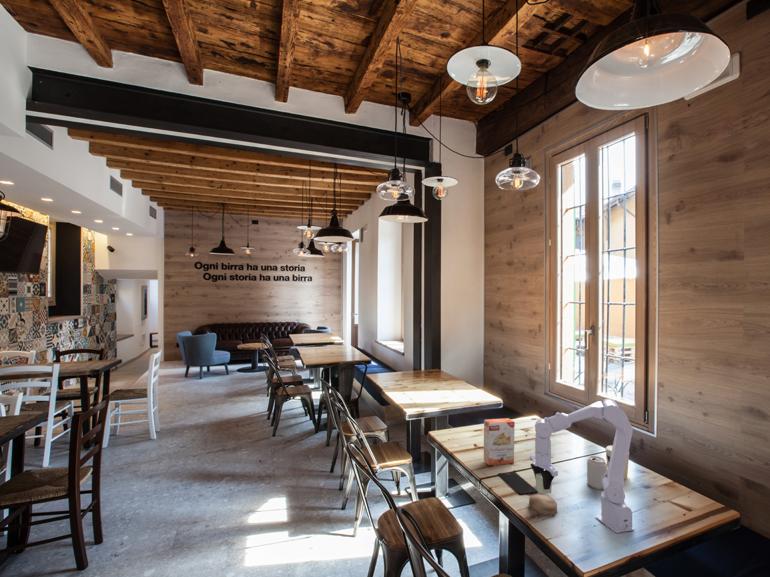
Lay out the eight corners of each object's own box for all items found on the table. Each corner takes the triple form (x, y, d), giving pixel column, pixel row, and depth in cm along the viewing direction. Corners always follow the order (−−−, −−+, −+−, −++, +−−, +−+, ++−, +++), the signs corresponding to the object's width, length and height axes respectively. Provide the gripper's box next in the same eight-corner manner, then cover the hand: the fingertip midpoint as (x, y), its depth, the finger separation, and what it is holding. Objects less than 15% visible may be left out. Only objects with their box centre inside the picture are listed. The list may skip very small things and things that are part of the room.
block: (551, 493, 143) (551, 477, 143) (542, 494, 142) (542, 478, 142) (544, 487, 147) (544, 472, 147) (535, 488, 146) (535, 473, 146)
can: (590, 479, 166) (590, 453, 166) (609, 486, 161) (609, 458, 161) (584, 485, 161) (584, 458, 161) (604, 492, 155) (604, 464, 156)
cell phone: (514, 473, 172) (514, 471, 172) (538, 493, 155) (538, 491, 155) (497, 475, 170) (497, 473, 170) (519, 496, 153) (519, 493, 153)
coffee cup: (603, 475, 170) (603, 449, 170) (608, 468, 177) (608, 443, 177) (627, 482, 164) (627, 455, 164) (631, 475, 171) (631, 449, 171)
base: (562, 513, 140) (562, 506, 140) (540, 516, 138) (540, 510, 138) (545, 499, 150) (545, 492, 150) (524, 502, 148) (524, 495, 148)
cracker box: (488, 466, 178) (489, 423, 179) (483, 460, 184) (483, 419, 185) (514, 463, 181) (515, 421, 182) (508, 458, 187) (508, 417, 188)
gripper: (523, 444, 150) (522, 478, 150) (546, 460, 136) (546, 497, 136) (538, 443, 152) (538, 476, 152) (562, 458, 138) (562, 494, 138)
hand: (543, 486), depth 144 cm, fingers closed on block, 4 cm apart
